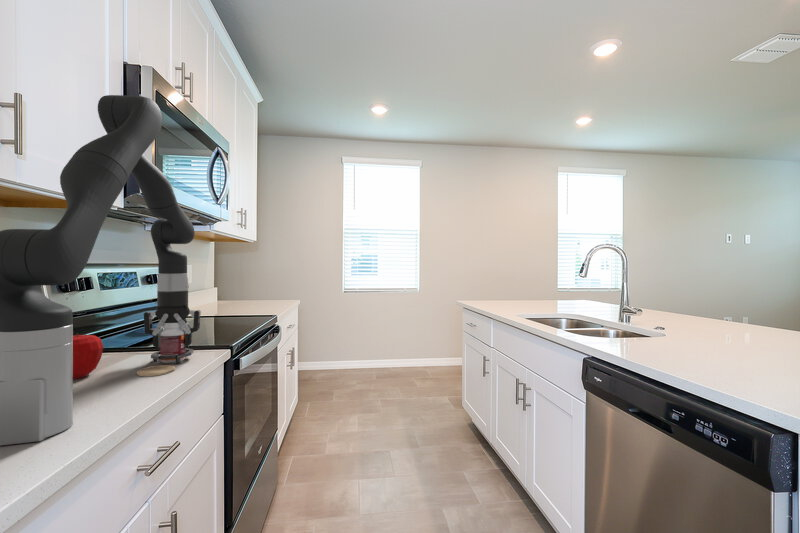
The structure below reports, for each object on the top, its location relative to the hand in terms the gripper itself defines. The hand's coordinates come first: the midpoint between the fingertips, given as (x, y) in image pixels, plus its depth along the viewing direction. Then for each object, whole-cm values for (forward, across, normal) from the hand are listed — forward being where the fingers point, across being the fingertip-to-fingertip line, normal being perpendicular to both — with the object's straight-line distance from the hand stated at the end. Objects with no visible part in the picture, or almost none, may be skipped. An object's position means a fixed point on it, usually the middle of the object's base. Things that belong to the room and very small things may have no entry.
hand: (173, 347), depth 105 cm
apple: (+4, -18, -10) cm, 21 cm away
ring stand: (+4, 0, 0) cm, 4 cm away
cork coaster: (+4, -1, -11) cm, 12 cm away
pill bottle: (+4, 0, 0) cm, 4 cm away
